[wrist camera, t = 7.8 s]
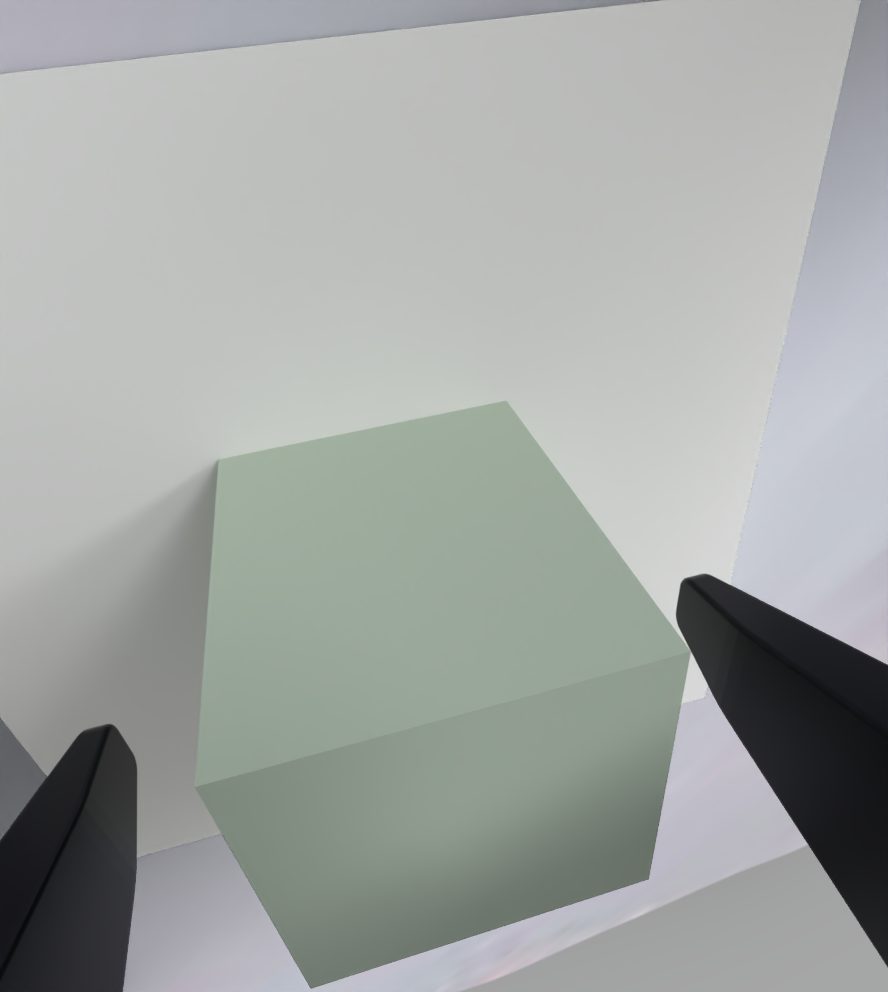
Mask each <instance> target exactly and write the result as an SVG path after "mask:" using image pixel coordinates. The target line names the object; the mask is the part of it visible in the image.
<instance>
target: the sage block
mask: <svg viewBox="0 0 888 992" xmlns="http://www.w3.org/2000/svg"><path fill="white" fill-rule="evenodd" d="M690 654H691V651H690V650H689V648H688V647H687V645H686V644H685V643H684V641H683V640H682V639H681V637H680V636H679V635H678V633H677V632H676V631H675V629H674V628H673V626H672V625H671V624H670V622H669V621H668V620H667V618H666V617H665V616H664V614H663V613H662V611H661V610H660V609H659V607H658V606H657V605H656V603H655V602H654V601H653V599H652V598H651V597H650V595H649V594H648V592H647V591H646V590H645V588H644V587H643V586H642V584H641V583H640V582H639V580H638V579H637V577H636V576H635V575H634V573H633V572H632V571H631V569H630V568H629V567H628V565H627V564H626V563H625V561H624V560H623V558H622V557H621V556H620V554H619V553H618V552H617V550H616V549H615V548H614V546H613V545H612V543H611V542H610V541H609V539H608V538H607V537H606V535H605V534H604V533H603V531H602V530H601V529H600V527H599V526H598V524H597V523H596V522H595V520H594V519H593V518H592V516H591V515H590V514H589V512H588V511H587V509H586V508H585V507H584V505H583V504H582V503H581V501H580V500H579V499H578V497H577V496H576V495H575V493H574V492H573V490H572V489H571V488H570V486H569V485H568V484H567V482H566V481H565V480H564V478H563V477H562V475H561V474H560V473H559V471H558V470H557V469H556V467H555V466H554V465H553V463H552V462H551V461H550V459H549V458H548V456H547V455H546V454H545V452H544V451H543V450H542V448H541V447H540V446H539V444H538V443H537V442H536V440H535V439H534V437H533V436H532V435H531V433H530V432H529V431H528V429H527V428H526V427H525V425H524V424H523V422H522V421H521V420H520V418H519V417H518V416H517V414H516V413H515V412H514V410H513V409H512V408H511V406H510V405H509V403H508V402H507V401H501V402H497V403H492V404H487V405H482V406H477V407H472V408H467V409H462V410H457V411H452V412H448V413H443V414H438V415H433V416H428V417H423V418H418V419H413V420H408V421H404V422H399V423H394V424H389V425H384V426H379V427H374V428H369V429H364V430H359V431H355V432H350V433H345V434H340V435H335V436H330V437H325V438H320V439H315V440H310V441H306V442H301V443H296V444H291V445H286V446H281V447H276V448H271V449H266V450H262V451H257V452H252V453H247V454H242V455H237V456H232V457H227V458H222V459H219V462H218V476H217V489H216V503H215V516H214V530H213V544H212V557H211V571H210V585H209V598H208V612H207V625H206V639H205V653H204V666H203V680H202V693H201V707H200V721H199V734H198V748H197V762H196V775H195V789H196V790H197V792H198V794H199V796H200V797H201V799H202V801H203V802H204V804H205V806H206V808H207V809H208V811H209V813H210V815H211V816H212V818H213V820H214V822H215V823H216V825H217V827H218V829H219V830H220V832H221V834H222V835H223V837H224V839H225V841H226V842H227V844H228V846H229V848H230V849H231V851H232V853H233V855H234V856H235V858H236V860H237V862H238V863H239V865H240V867H241V868H242V870H243V872H244V874H245V875H246V877H247V879H248V881H249V882H250V884H251V886H252V888H253V889H254V891H255V893H256V895H257V896H258V898H259V900H260V901H261V903H262V905H263V907H264V908H265V910H266V912H267V914H268V915H269V917H270V919H271V921H272V922H273V924H274V926H275V928H276V929H277V931H278V933H279V934H280V936H281V938H282V940H283V941H284V943H285V945H286V947H287V948H288V950H289V952H290V954H291V955H292V957H293V959H294V961H295V962H296V964H297V966H298V967H299V969H300V971H301V973H302V974H303V976H304V978H305V980H306V981H307V983H308V985H309V987H310V988H314V987H318V986H321V985H324V984H327V983H330V982H333V981H336V980H339V979H342V978H345V977H348V976H351V975H355V974H358V973H361V972H364V971H367V970H370V969H373V968H376V967H379V966H382V965H385V964H389V963H392V962H395V961H398V960H401V959H404V958H407V957H410V956H413V955H416V954H419V953H422V952H426V951H429V950H432V949H435V948H438V947H441V946H444V945H447V944H450V943H453V942H456V941H460V940H463V939H466V938H469V937H472V936H475V935H478V934H481V933H484V932H487V931H490V930H493V929H497V928H500V927H503V926H506V925H509V924H512V923H515V922H518V921H521V920H524V919H527V918H531V917H534V916H537V915H540V914H543V913H546V912H549V911H552V910H555V909H558V908H561V907H564V906H568V905H571V904H574V903H577V902H580V901H583V900H586V899H589V898H592V897H595V896H598V895H602V894H605V893H608V892H611V891H614V890H617V889H620V888H623V887H626V886H629V885H632V884H635V883H639V882H642V881H645V880H648V879H649V875H650V869H651V864H652V859H653V853H654V848H655V842H656V837H657V832H658V826H659V821H660V816H661V810H662V805H663V799H664V794H665V789H666V783H667V778H668V773H669V767H670V762H671V756H672V751H673V746H674V740H675V735H676V729H677V724H678V719H679V713H680V708H681V703H682V697H683V692H684V686H685V681H686V676H687V670H688V665H689V660H690Z"/></svg>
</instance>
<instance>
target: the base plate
mask: <svg viewBox="0 0 888 992" xmlns="http://www.w3.org/2000/svg"><path fill="white" fill-rule="evenodd" d="M860 2H861V0H661V1H652V2H643V3H634V4H625V5H616V6H607V7H598V8H589V9H580V10H571V11H562V12H553V13H544V14H535V15H526V16H517V17H508V18H499V19H490V20H481V21H472V22H463V23H454V24H445V25H436V26H427V27H418V28H409V29H400V30H391V31H382V32H373V33H364V34H355V35H346V36H337V37H328V38H319V39H310V40H301V41H292V42H283V43H274V44H265V45H256V46H246V47H238V48H228V49H219V50H210V51H201V52H192V53H183V54H174V55H165V56H156V57H147V58H138V59H129V60H120V61H111V62H102V63H93V64H84V65H75V66H66V67H57V68H48V69H39V70H30V71H21V72H12V73H3V74H0V718H1V719H2V721H3V722H4V723H5V724H6V726H7V727H8V728H9V729H10V731H11V732H12V733H13V734H14V736H15V737H16V738H17V739H18V741H19V742H20V743H21V745H22V746H23V747H24V748H25V750H26V751H27V752H28V753H29V755H30V756H31V757H32V758H33V760H34V761H35V762H36V763H37V765H38V766H39V767H40V769H41V770H42V771H43V772H44V774H45V775H46V776H48V775H49V774H50V772H51V771H52V770H53V768H54V767H55V766H56V764H57V763H58V762H59V760H60V759H61V758H62V756H63V755H64V753H65V752H66V751H67V749H68V748H69V747H70V745H71V744H72V743H73V741H74V740H75V739H76V737H77V736H78V735H79V734H80V733H81V732H82V731H84V730H86V729H89V728H93V727H97V726H101V725H105V724H113V725H114V726H116V728H117V729H118V730H119V732H120V733H121V735H122V737H123V738H124V740H125V741H126V743H127V744H128V746H129V748H130V749H131V751H132V752H133V754H134V756H135V759H136V763H137V858H138V857H141V856H145V855H148V854H152V853H156V852H159V851H163V850H166V849H170V848H173V847H177V846H180V845H184V844H187V843H191V842H195V841H198V840H202V839H205V838H209V837H212V836H216V835H219V834H221V832H220V830H219V829H218V827H217V825H216V823H215V822H214V820H213V818H212V816H211V815H210V813H209V811H208V809H207V808H206V806H205V804H204V802H203V801H202V799H201V797H200V796H199V794H198V792H197V790H196V789H195V775H196V762H197V748H198V734H199V721H200V707H201V693H202V680H203V666H204V653H205V639H206V625H207V612H208V598H209V585H210V571H211V557H212V544H213V530H214V516H215V503H216V489H217V476H218V462H219V459H222V458H227V457H232V456H237V455H242V454H247V453H252V452H257V451H262V450H266V449H271V448H276V447H281V446H286V445H291V444H296V443H301V442H306V441H310V440H315V439H320V438H325V437H330V436H335V435H340V434H345V433H350V432H355V431H359V430H364V429H369V428H374V427H379V426H384V425H389V424H394V423H399V422H404V421H408V420H413V419H418V418H423V417H428V416H433V415H438V414H443V413H448V412H452V411H457V410H462V409H467V408H472V407H477V406H482V405H487V404H492V403H497V402H501V401H507V402H508V403H509V405H510V406H511V408H512V409H513V410H514V412H515V413H516V414H517V416H518V417H519V418H520V420H521V421H522V422H523V424H524V425H525V427H526V428H527V429H528V431H529V432H530V433H531V435H532V436H533V437H534V439H535V440H536V442H537V443H538V444H539V446H540V447H541V448H542V450H543V451H544V452H545V454H546V455H547V456H548V458H549V459H550V461H551V462H552V463H553V465H554V466H555V467H556V469H557V470H558V471H559V473H560V474H561V475H562V477H563V478H564V480H565V481H566V482H567V484H568V485H569V486H570V488H571V489H572V490H573V492H574V493H575V495H576V496H577V497H578V499H579V500H580V501H581V503H582V504H583V505H584V507H585V508H586V509H587V511H588V512H589V514H590V515H591V516H592V518H593V519H594V520H595V522H596V523H597V524H598V526H599V527H600V529H601V530H602V531H603V533H604V534H605V535H606V537H607V538H608V539H609V541H610V542H611V543H612V545H613V546H614V548H615V549H616V550H617V552H618V553H619V554H620V556H621V557H622V558H623V560H624V561H625V563H626V564H627V565H628V567H629V568H630V569H631V571H632V572H633V573H634V575H635V576H636V577H637V579H638V580H639V582H640V583H641V584H642V586H643V587H644V588H645V590H646V591H647V592H648V594H649V595H650V597H651V598H652V599H653V601H654V602H655V603H656V605H657V606H658V607H659V609H660V610H661V611H662V613H663V614H664V616H665V617H666V618H667V620H668V621H669V622H670V624H671V625H672V626H673V628H674V629H675V631H676V632H677V633H678V635H679V636H680V637H681V639H682V640H683V641H684V643H685V644H686V645H687V643H686V641H685V639H684V637H683V635H682V633H681V631H680V629H679V627H678V624H677V621H676V607H677V601H678V595H679V589H680V584H681V582H682V580H683V579H684V578H687V577H691V576H695V575H699V574H709V575H712V576H714V577H716V578H718V579H720V580H722V581H724V582H726V583H728V584H730V583H731V579H732V574H733V570H734V565H735V561H736V556H737V552H738V547H739V543H740V538H741V534H742V529H743V525H744V520H745V516H746V511H747V507H748V503H749V498H750V494H751V489H752V485H753V480H754V476H755V471H756V467H757V462H758V458H759V453H760V449H761V444H762V440H763V435H764V431H765V427H766V422H767V418H768V413H769V409H770V404H771V400H772V395H773V391H774V386H775V382H776V377H777V373H778V368H779V364H780V359H781V355H782V351H783V346H784V342H785V337H786V333H787V328H788V324H789V319H790V315H791V310H792V306H793V301H794V297H795V292H796V288H797V283H798V279H799V275H800V270H801V266H802V261H803V257H804V252H805V248H806V243H807V239H808V234H809V230H810V225H811V221H812V216H813V212H814V207H815V203H816V199H817V194H818V190H819V185H820V181H821V176H822V172H823V167H824V163H825V158H826V154H827V149H828V145H829V140H830V136H831V131H832V127H833V123H834V118H835V114H836V109H837V105H838V100H839V96H840V91H841V87H842V82H843V78H844V73H845V69H846V64H847V60H848V55H849V51H850V47H851V42H852V38H853V33H854V29H855V24H856V20H857V15H858V11H859V6H860ZM687 647H688V645H687ZM688 648H689V647H688ZM689 650H690V649H689ZM707 686H708V684H707V682H706V680H705V678H704V676H703V674H702V672H701V670H700V669H699V667H698V665H697V663H696V661H695V659H694V657H693V655H692V653H691V654H690V660H689V665H688V670H687V676H686V681H685V686H684V692H683V697H682V703H681V704H684V703H687V702H691V701H695V700H698V699H702V698H705V695H706V690H707Z"/></svg>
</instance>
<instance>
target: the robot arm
mask: <svg viewBox="0 0 888 992" xmlns="http://www.w3.org/2000/svg"><path fill="white" fill-rule="evenodd" d="M676 621H677V624H678V627H679V629H680V631H681V633H682V635H683V637H684V639H685V641H686V643H687V645H688V647H689V649H690V651H691V653H692V655H693V657H694V659H695V661H696V663H697V665H698V667H699V669H700V670H701V672H702V674H703V676H704V678H705V680H706V682H707V684H708V686H709V688H710V690H711V692H712V694H713V696H714V698H715V700H716V702H717V703H718V705H719V707H720V709H721V710H722V712H723V714H724V715H725V717H726V718H727V720H728V722H729V723H730V725H731V726H732V728H733V729H734V731H735V732H736V734H737V736H738V737H739V739H740V740H741V742H742V743H743V745H744V746H745V748H746V749H747V751H748V752H749V754H750V756H751V757H752V759H753V760H754V762H755V763H756V765H757V766H758V768H759V769H760V771H761V773H762V774H763V776H764V777H765V779H766V780H767V782H768V783H769V785H770V786H771V788H772V789H773V791H774V793H775V794H776V796H777V797H778V799H779V800H780V802H781V803H782V805H783V806H784V808H785V810H786V811H787V813H788V814H789V816H790V817H791V819H792V820H793V822H794V823H795V825H796V826H797V828H798V830H799V831H800V833H801V834H802V836H803V837H804V839H805V840H806V842H807V843H808V845H809V846H810V848H811V850H812V851H813V853H814V854H815V856H816V857H817V859H818V860H819V862H820V863H821V865H822V867H823V868H824V870H825V871H826V873H827V874H828V876H829V877H830V879H831V880H832V882H833V884H834V885H835V887H836V888H837V890H838V891H839V893H840V894H841V896H842V897H843V898H844V900H845V902H846V904H847V905H848V907H849V908H850V910H851V911H852V913H853V914H854V916H855V917H856V919H857V921H858V922H859V924H860V925H861V927H862V928H863V930H864V931H865V933H866V934H867V936H868V938H869V939H870V940H871V942H872V943H873V945H874V947H875V948H876V950H877V951H878V953H879V954H880V956H881V957H882V959H883V960H884V962H885V964H886V965H887V967H888V665H887V664H885V663H883V662H881V661H879V660H877V659H875V658H873V657H871V656H869V655H867V654H865V653H863V652H862V651H860V650H858V649H856V648H854V647H852V646H850V645H848V644H846V643H844V642H842V641H840V640H838V639H836V638H834V637H832V636H830V635H828V634H826V633H824V632H822V631H820V630H818V629H816V628H814V627H812V626H810V625H808V624H806V623H804V622H802V621H801V620H799V619H797V618H795V617H793V616H791V615H789V614H787V613H785V612H783V611H781V610H779V609H777V608H775V607H773V606H771V605H769V604H767V603H765V602H763V601H761V600H759V599H757V598H755V597H753V596H751V595H749V594H747V593H745V592H743V591H741V590H740V589H738V588H736V587H734V586H732V585H730V584H728V583H726V582H724V581H722V580H720V579H718V578H716V577H714V576H712V575H709V574H699V575H695V576H691V577H687V578H684V579H683V580H682V582H681V584H680V589H679V595H678V601H677V607H676ZM136 870H137V763H136V759H135V756H134V754H133V752H132V751H131V749H130V748H129V746H128V744H127V743H126V741H125V740H124V738H123V737H122V735H121V733H120V732H119V730H118V729H117V728H116V726H114V725H113V724H105V725H101V726H97V727H93V728H89V729H86V730H84V731H82V732H81V733H80V734H79V735H78V736H77V737H76V739H75V740H74V741H73V743H72V744H71V745H70V747H69V748H68V749H67V751H66V752H65V753H64V755H63V756H62V758H61V759H60V760H59V762H58V763H57V764H56V766H55V767H54V768H53V770H52V771H51V772H50V774H49V775H48V776H47V778H46V779H45V781H44V782H43V783H42V785H41V786H40V787H39V789H38V790H37V791H36V793H35V794H34V795H33V797H32V798H31V800H30V801H29V802H28V804H27V805H26V806H25V808H24V809H23V810H22V812H21V813H20V814H19V816H18V817H17V818H16V820H15V821H14V823H13V824H12V825H11V827H10V828H9V829H8V831H7V832H6V833H5V835H4V836H3V837H2V839H1V840H0V992H123V986H124V977H125V969H126V961H127V952H128V944H129V935H130V927H131V919H132V910H133V902H134V894H135V883H136Z"/></svg>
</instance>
